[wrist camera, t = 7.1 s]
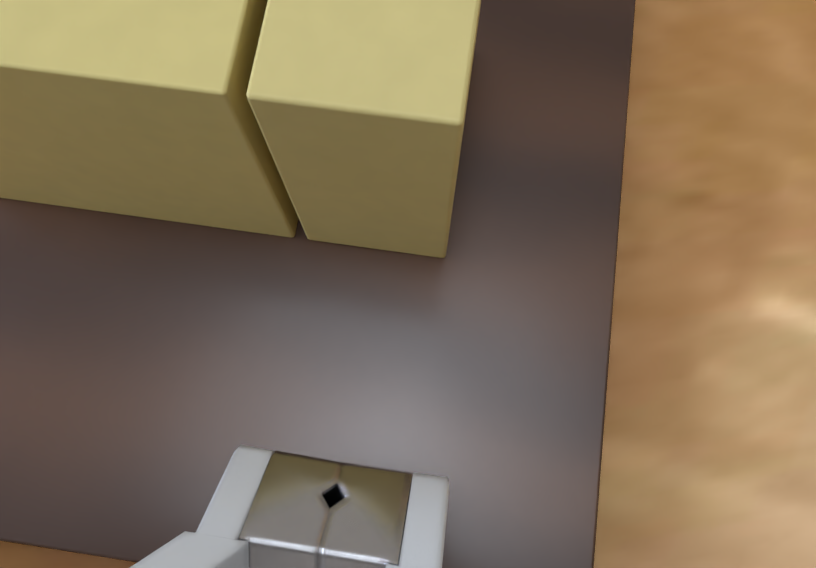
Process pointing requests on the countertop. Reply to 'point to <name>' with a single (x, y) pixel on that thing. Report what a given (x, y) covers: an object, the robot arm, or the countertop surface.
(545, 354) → the butter board
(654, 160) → the countertop surface
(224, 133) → the butter block
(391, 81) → the butter slice
